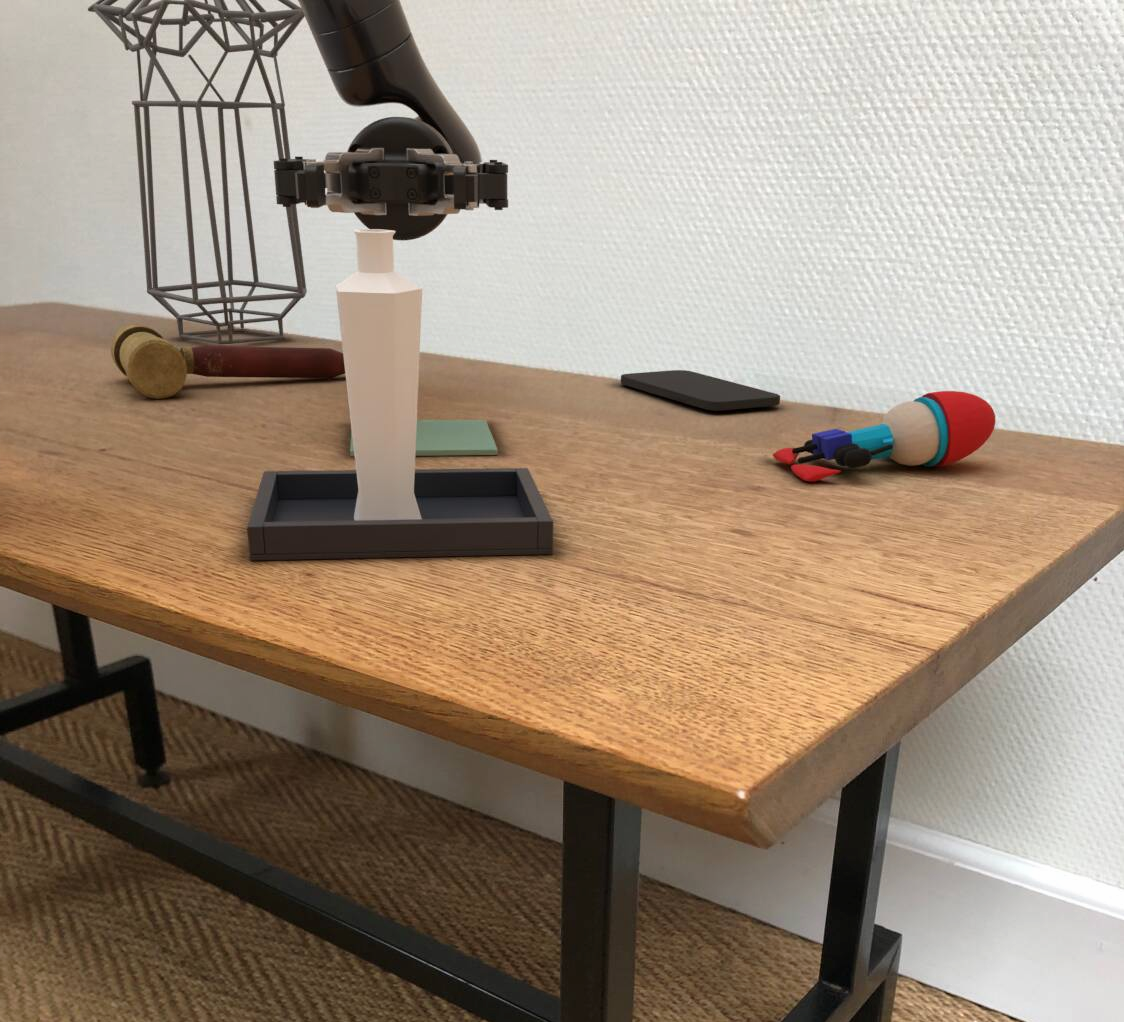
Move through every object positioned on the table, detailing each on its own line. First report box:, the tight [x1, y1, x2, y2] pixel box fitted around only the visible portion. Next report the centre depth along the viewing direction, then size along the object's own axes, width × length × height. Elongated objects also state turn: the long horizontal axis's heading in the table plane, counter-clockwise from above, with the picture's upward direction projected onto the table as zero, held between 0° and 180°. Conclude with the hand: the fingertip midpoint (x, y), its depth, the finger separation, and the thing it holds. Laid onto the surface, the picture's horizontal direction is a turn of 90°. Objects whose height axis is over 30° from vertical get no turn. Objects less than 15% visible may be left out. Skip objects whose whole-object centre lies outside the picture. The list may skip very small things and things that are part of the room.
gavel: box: [110, 323, 345, 400], centre depth 108 cm, size 21×5×10 cm
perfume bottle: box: [335, 228, 423, 520], centre depth 67 cm, size 5×4×15 cm
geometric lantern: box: [87, 0, 308, 345], centre depth 123 cm, size 16×16×35 cm
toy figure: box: [772, 390, 996, 483], centre depth 85 cm, size 8×5×15 cm
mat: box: [349, 419, 499, 458], centre depth 90 cm, size 10×10×1 cm
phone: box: [620, 369, 781, 412], centre depth 108 cm, size 7×1×15 cm
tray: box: [246, 467, 554, 562], centre depth 70 cm, size 16×12×2 cm
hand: (386, 188), depth 73 cm, fingers open, 8 cm apart
